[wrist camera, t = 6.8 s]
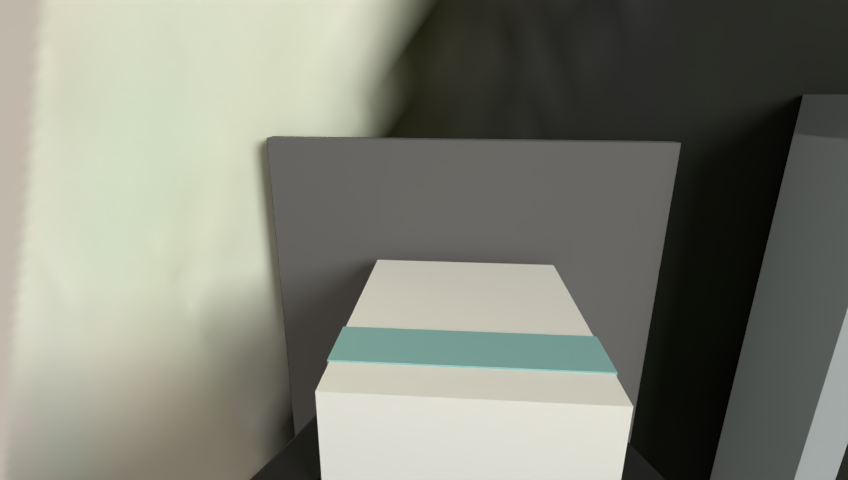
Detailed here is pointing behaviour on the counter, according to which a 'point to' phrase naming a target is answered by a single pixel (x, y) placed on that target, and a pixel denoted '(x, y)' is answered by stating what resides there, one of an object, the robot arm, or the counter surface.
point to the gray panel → (468, 229)
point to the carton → (469, 380)
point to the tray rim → (797, 319)
